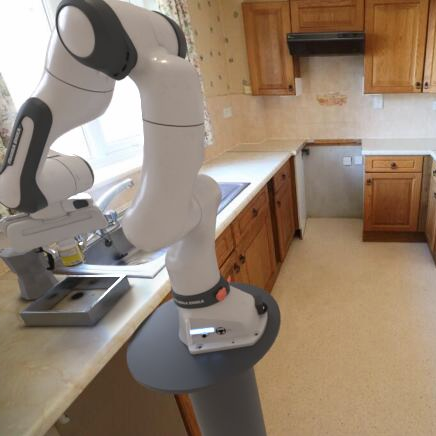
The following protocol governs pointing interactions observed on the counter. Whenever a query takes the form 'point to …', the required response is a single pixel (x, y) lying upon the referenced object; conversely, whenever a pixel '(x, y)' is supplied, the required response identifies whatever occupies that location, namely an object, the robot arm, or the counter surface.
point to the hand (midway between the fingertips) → (71, 252)
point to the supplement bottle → (71, 253)
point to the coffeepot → (31, 270)
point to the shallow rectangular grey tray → (38, 308)
